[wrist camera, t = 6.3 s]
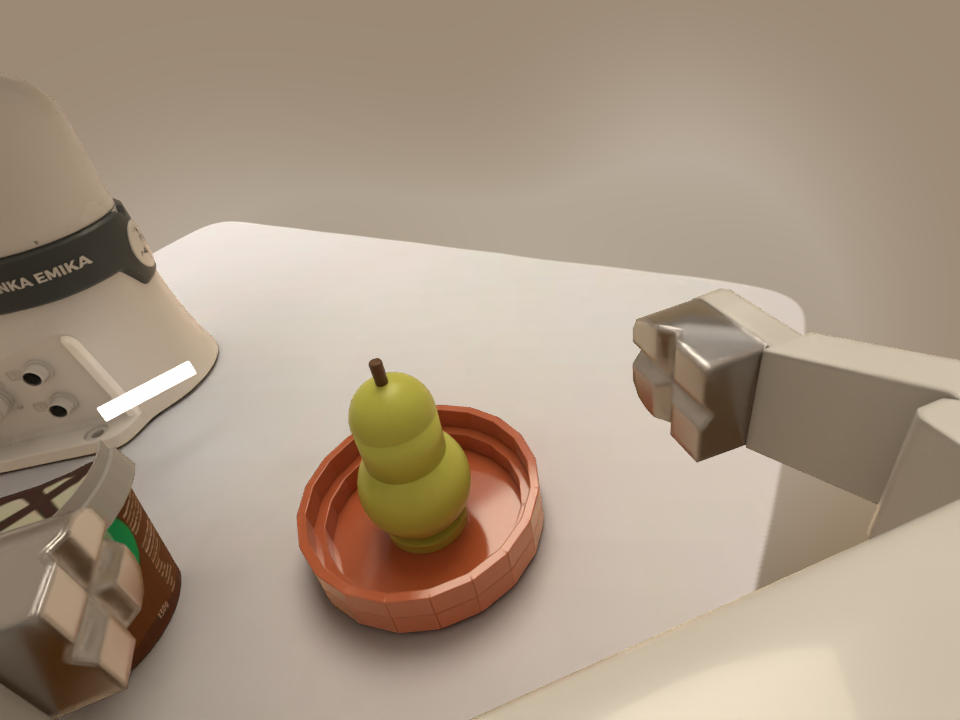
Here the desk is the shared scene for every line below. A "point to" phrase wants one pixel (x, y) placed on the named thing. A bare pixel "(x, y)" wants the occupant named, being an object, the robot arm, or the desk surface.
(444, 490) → the pear
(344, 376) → the desk surface
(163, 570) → the food container
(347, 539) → the dish
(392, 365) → the desk surface
